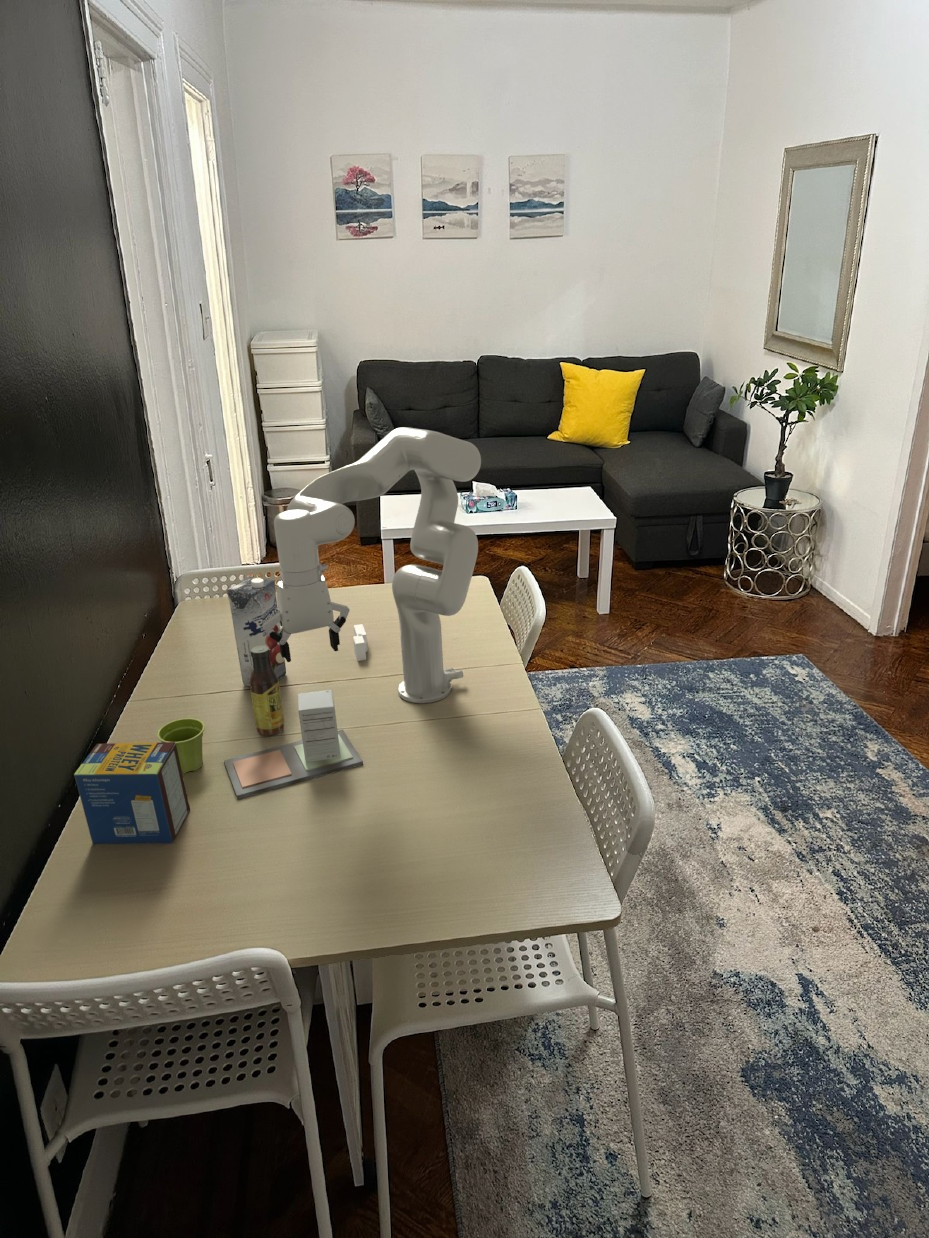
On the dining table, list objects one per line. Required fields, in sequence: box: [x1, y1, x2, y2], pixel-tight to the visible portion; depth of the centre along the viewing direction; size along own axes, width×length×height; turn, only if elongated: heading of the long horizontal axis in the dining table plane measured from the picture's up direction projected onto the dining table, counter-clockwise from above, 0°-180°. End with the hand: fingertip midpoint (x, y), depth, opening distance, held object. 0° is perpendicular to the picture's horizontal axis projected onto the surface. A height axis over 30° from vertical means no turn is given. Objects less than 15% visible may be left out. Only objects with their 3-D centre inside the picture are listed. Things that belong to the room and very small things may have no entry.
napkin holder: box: [352, 623, 369, 662], centre depth 231 cm, size 15×11×6 cm
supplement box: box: [297, 689, 340, 762], centre depth 184 cm, size 7×7×13 cm
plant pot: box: [157, 717, 206, 774], centre depth 184 cm, size 9×9×9 cm
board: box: [223, 729, 364, 800], centre depth 184 cm, size 26×14×1 cm, turn 114°
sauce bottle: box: [250, 645, 285, 736], centre depth 194 cm, size 7×6×20 cm
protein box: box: [73, 741, 191, 845], centre depth 164 cm, size 10×15×16 cm
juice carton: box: [226, 576, 287, 688], centre depth 214 cm, size 9×10×27 cm
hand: (311, 653), depth 177 cm, fingers open, 9 cm apart
